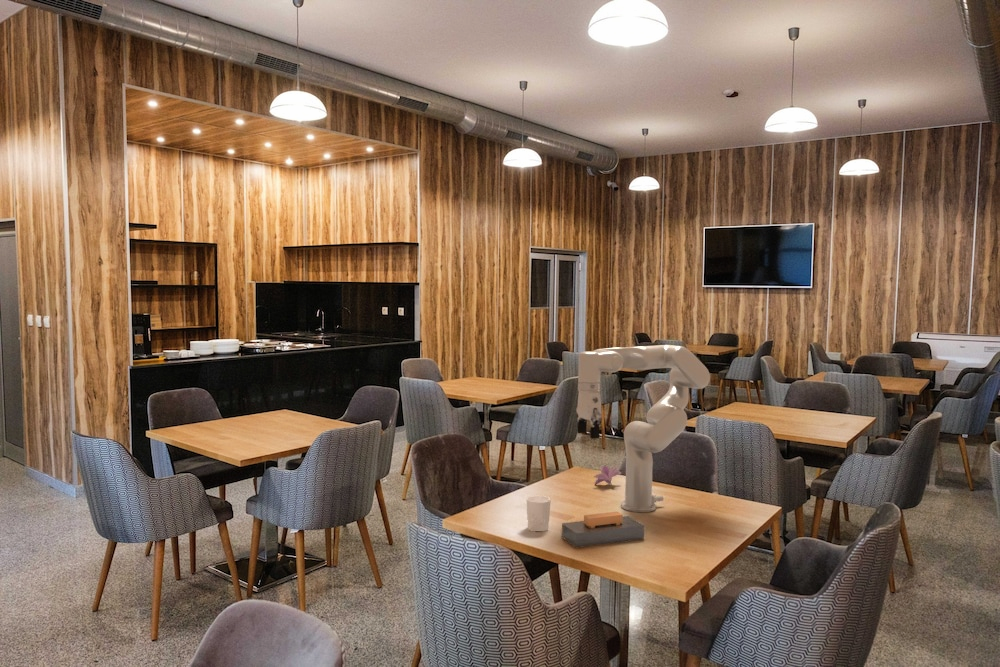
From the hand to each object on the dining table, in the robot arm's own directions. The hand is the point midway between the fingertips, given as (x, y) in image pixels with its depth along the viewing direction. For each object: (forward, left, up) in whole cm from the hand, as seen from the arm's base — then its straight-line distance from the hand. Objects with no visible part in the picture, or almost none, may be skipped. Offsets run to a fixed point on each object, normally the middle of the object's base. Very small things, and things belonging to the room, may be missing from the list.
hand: (588, 435), depth 247 cm
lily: (-25, -31, -29) cm, 49 cm away
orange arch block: (+6, +23, -28) cm, 37 cm away
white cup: (+22, +8, -28) cm, 37 cm away
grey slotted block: (+6, +23, -28) cm, 37 cm away
